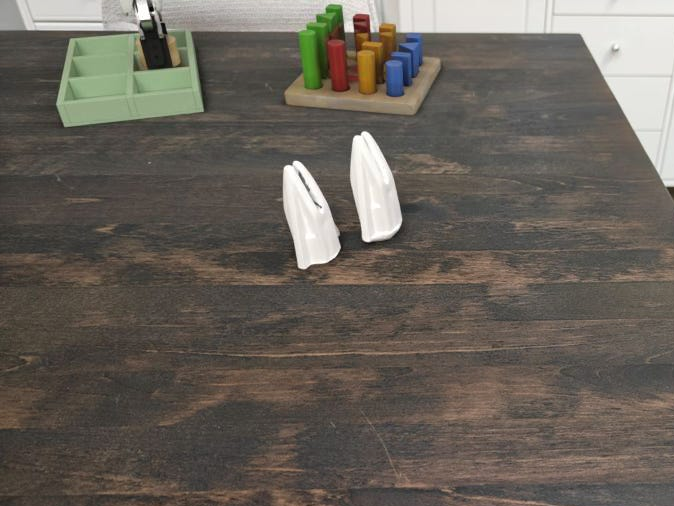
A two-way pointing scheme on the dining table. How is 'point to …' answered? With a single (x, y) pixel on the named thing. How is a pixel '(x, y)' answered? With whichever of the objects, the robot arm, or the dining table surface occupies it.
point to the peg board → (360, 67)
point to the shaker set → (314, 213)
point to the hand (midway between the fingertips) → (160, 59)
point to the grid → (125, 81)
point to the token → (172, 49)
